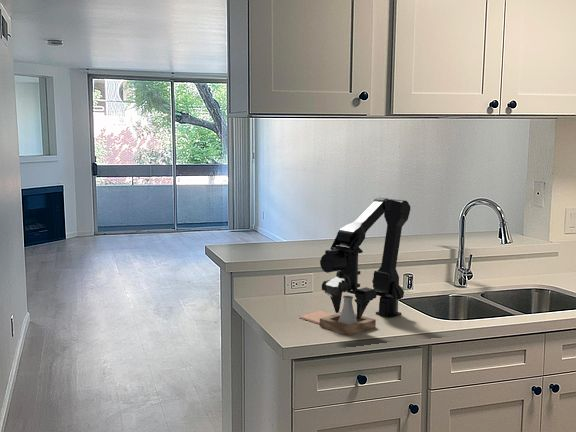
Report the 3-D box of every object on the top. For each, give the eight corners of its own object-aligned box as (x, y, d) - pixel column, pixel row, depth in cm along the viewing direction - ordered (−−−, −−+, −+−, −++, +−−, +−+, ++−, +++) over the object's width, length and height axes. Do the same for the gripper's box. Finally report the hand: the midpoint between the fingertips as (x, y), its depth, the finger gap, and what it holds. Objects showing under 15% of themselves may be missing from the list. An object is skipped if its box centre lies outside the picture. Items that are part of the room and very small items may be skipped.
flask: (357, 323, 200) (357, 293, 198) (360, 330, 193) (361, 299, 191) (335, 323, 199) (335, 293, 198) (337, 330, 192) (338, 299, 191)
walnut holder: (346, 318, 205) (346, 311, 204) (375, 327, 196) (375, 319, 195) (319, 326, 196) (319, 318, 196) (349, 335, 187) (349, 327, 187)
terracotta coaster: (320, 312, 212) (320, 310, 212) (341, 318, 204) (341, 317, 204) (299, 317, 205) (299, 316, 205) (320, 324, 198) (320, 322, 198)
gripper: (309, 266, 195) (309, 314, 197) (354, 276, 181) (353, 328, 183) (333, 262, 202) (333, 308, 204) (378, 271, 189) (376, 320, 191)
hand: (347, 315), depth 196 cm, fingers open, 9 cm apart
